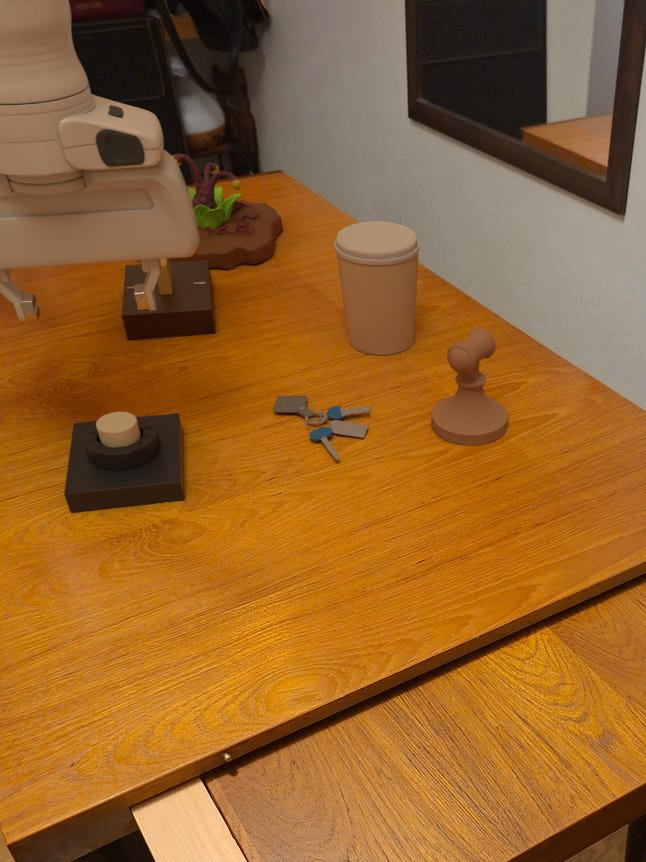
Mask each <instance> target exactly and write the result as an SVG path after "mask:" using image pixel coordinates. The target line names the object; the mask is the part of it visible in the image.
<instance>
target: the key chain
mask: <svg viewBox="0 0 646 862" xmlns="http://www.w3.org/2000/svg"><path fill="white" fill-rule="evenodd" d="M307 403H308V396H307V395H277V396H276V398H275V403H274V407H273V412H274V413H277V414H279V413H284V414H285V413H289V414H291V413H294V414H295V413H296V414H297V415H300V416H301V417H303V418H304V421H305V423H304V424H305V425H306V427H308V428H309V429H311V430H312V431H311V432H310V433H309V434H308V437H309V439H310V440H311V441H314V442H317V441H321V442H322V444H323V445H324V446H325V448H326V450H327V451H328V452H329V453H330V455H331V456H332V457H333V459H335V461H340V460H341V458H340V456H339V454H338V452H337V450H336V449H335V447H334V446H333V444H332V443H331V441H329V439H328V438H329V437H331V436H332V435H333V434H336V435H340V436H341V435H342V436H348V437H354V438H359V439H364V438H365V436H366V433H367V431H368V429H369V424H363V423H357V422H351V421H346V420H345V421H344V420H341V419H344V417H346V416H348V417H349V416H351V415H356V416H357V415H358V414H362V413H366V414H368V413H369V412H371V410H372V408H371V406H370V405H366V406H359V407H351V408H345V407H342V405H335V406H331V407H330V408H328V409H327V411H326V412H325V411H317V410H316V411H313V410H312V409H309V408H308V407H307ZM314 416H319V417H314ZM329 419H331V420H332V421H329ZM312 420H317V421H312ZM325 422H327V424H328V423H329V426H320V427H317V428H315V427H311V426H310V425H314V426H317V425H322V424H324V423H325ZM308 424H309V425H308Z"/></svg>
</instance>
